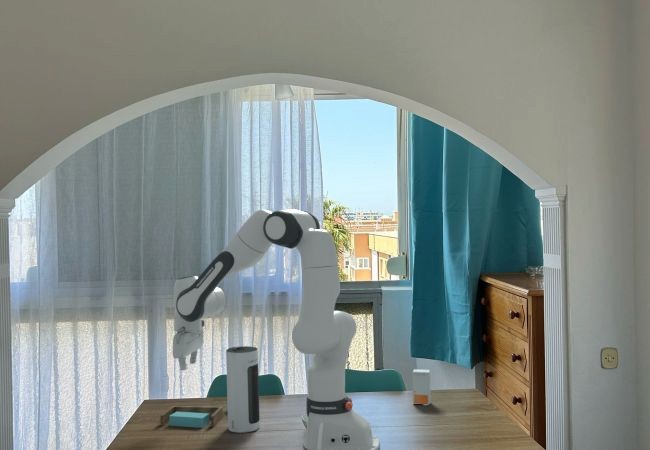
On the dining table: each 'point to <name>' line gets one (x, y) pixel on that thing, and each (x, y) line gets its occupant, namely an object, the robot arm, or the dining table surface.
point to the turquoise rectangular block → (189, 419)
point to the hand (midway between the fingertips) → (188, 366)
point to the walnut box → (213, 412)
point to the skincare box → (421, 387)
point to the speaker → (242, 389)
